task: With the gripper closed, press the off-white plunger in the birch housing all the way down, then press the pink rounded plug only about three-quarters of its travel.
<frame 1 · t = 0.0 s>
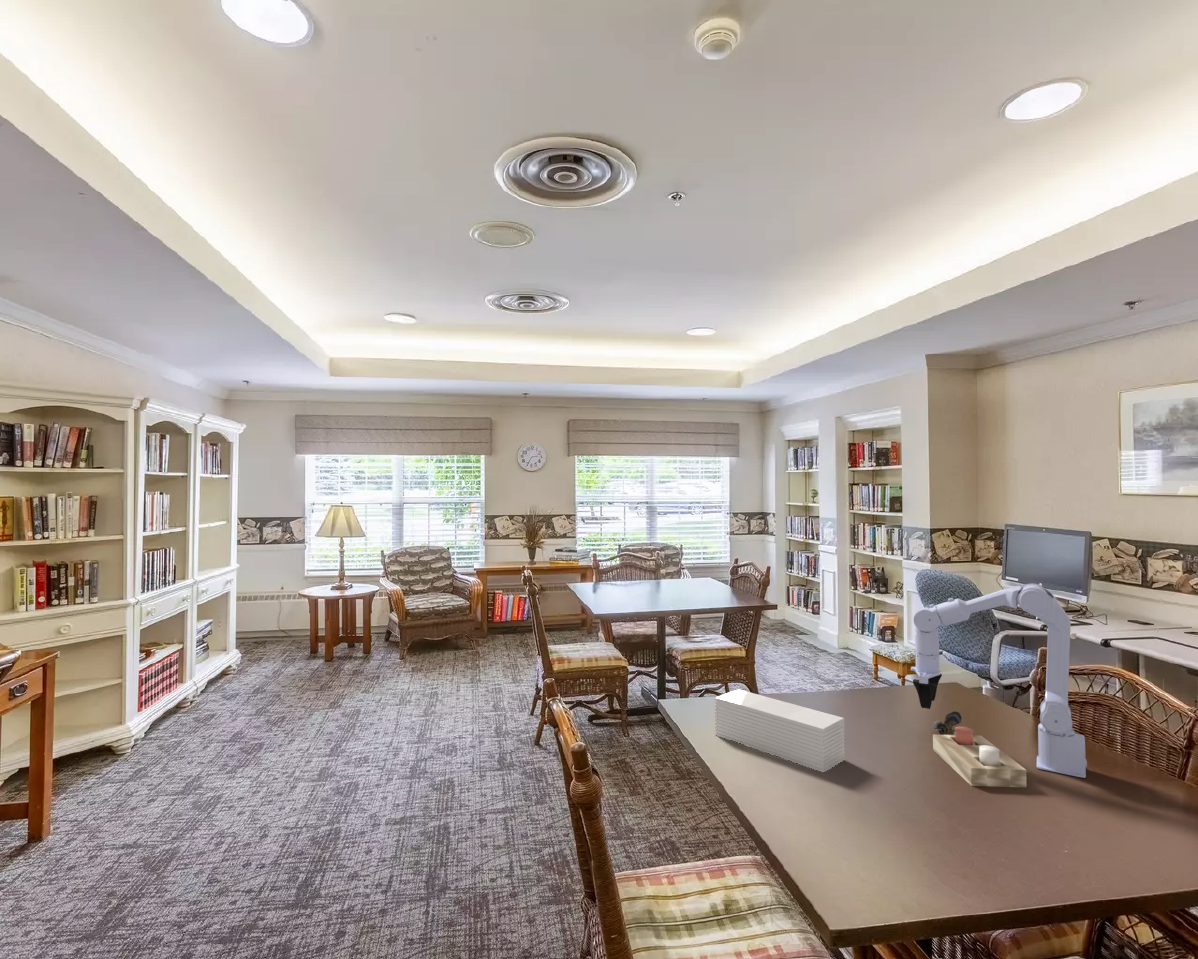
hand: (927, 703, 171), 10 cm above the table, tool pointing down, fingers open, 7 cm apart
pink rounded plug: (964, 738, 161), point 5 cm above the table, slide at 0.0 cm
eagle figurine: (948, 737, 174), on the table
ivory plunger: (989, 758, 149), point 5 cm above the table, slide at 0.0 cm
stack of papers: (776, 748, 168), on the table
press housing: (976, 767, 155), on the table
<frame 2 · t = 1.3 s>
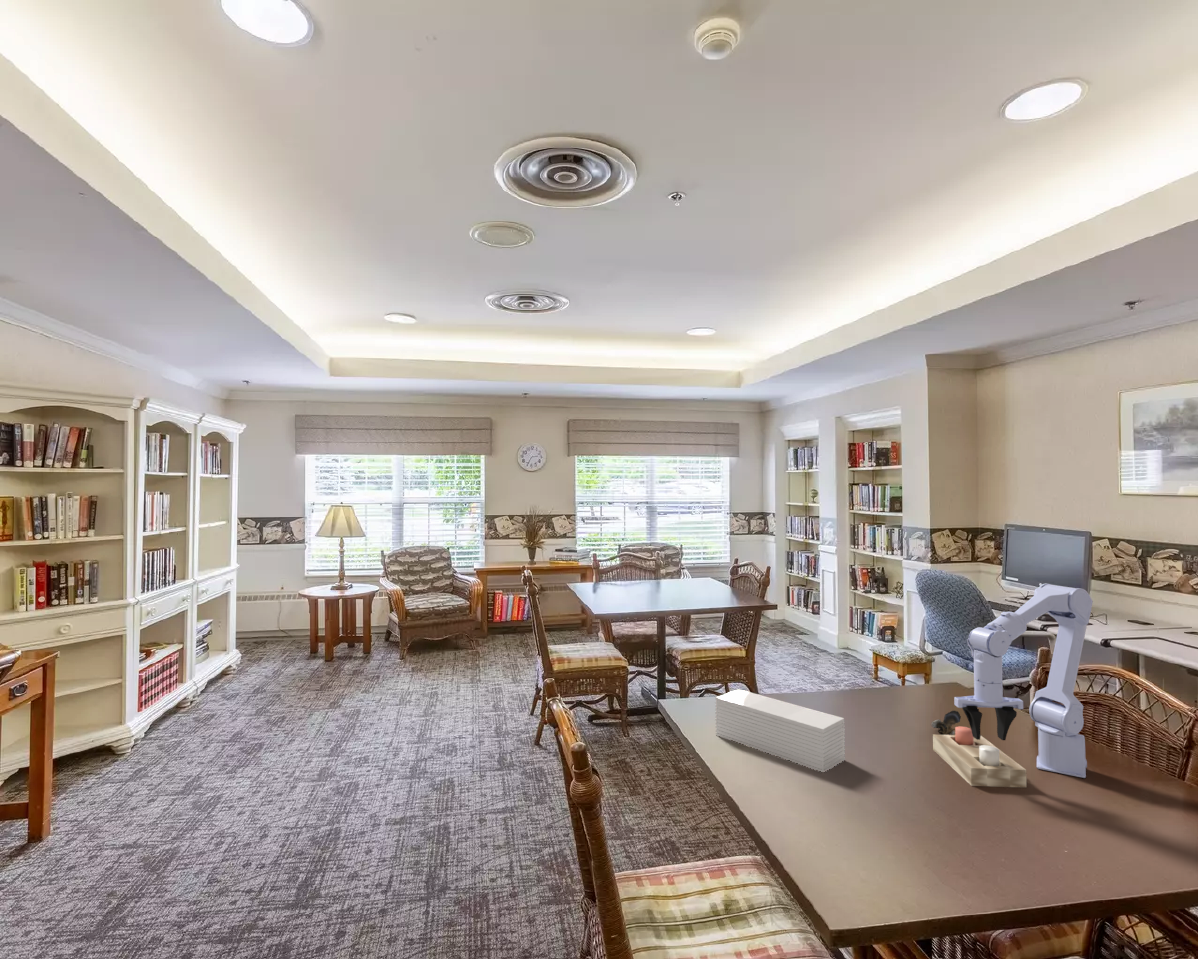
hand: (988, 738, 149), 9 cm above the table, tool pointing down, fingers open, 5 cm apart
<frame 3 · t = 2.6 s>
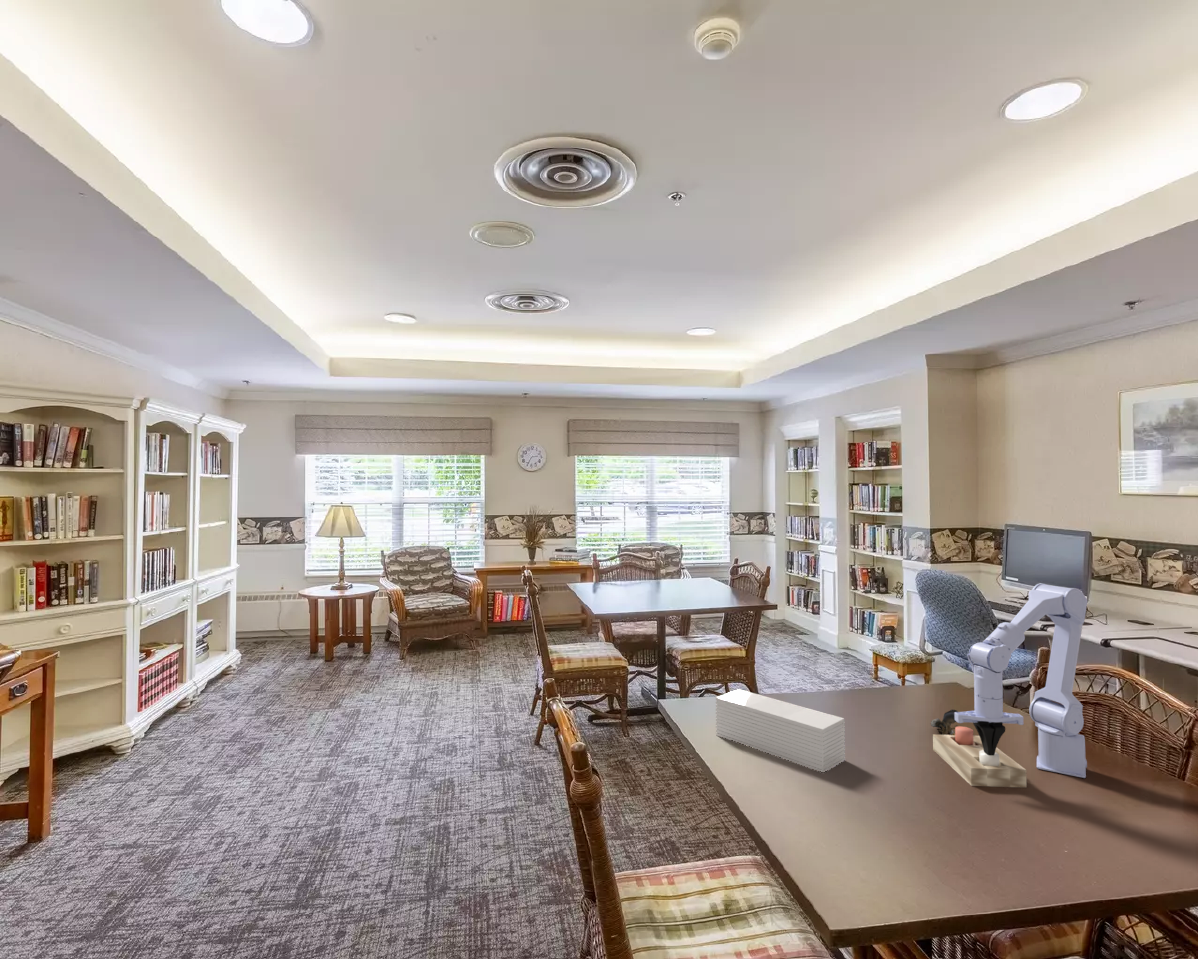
hand: (989, 753, 149), 6 cm above the table, tool pointing down, fingers closed, pressing on ivory plunger
ivory plunger: (989, 763, 149), point 4 cm above the table, slide at 1.2 cm, touching gripper
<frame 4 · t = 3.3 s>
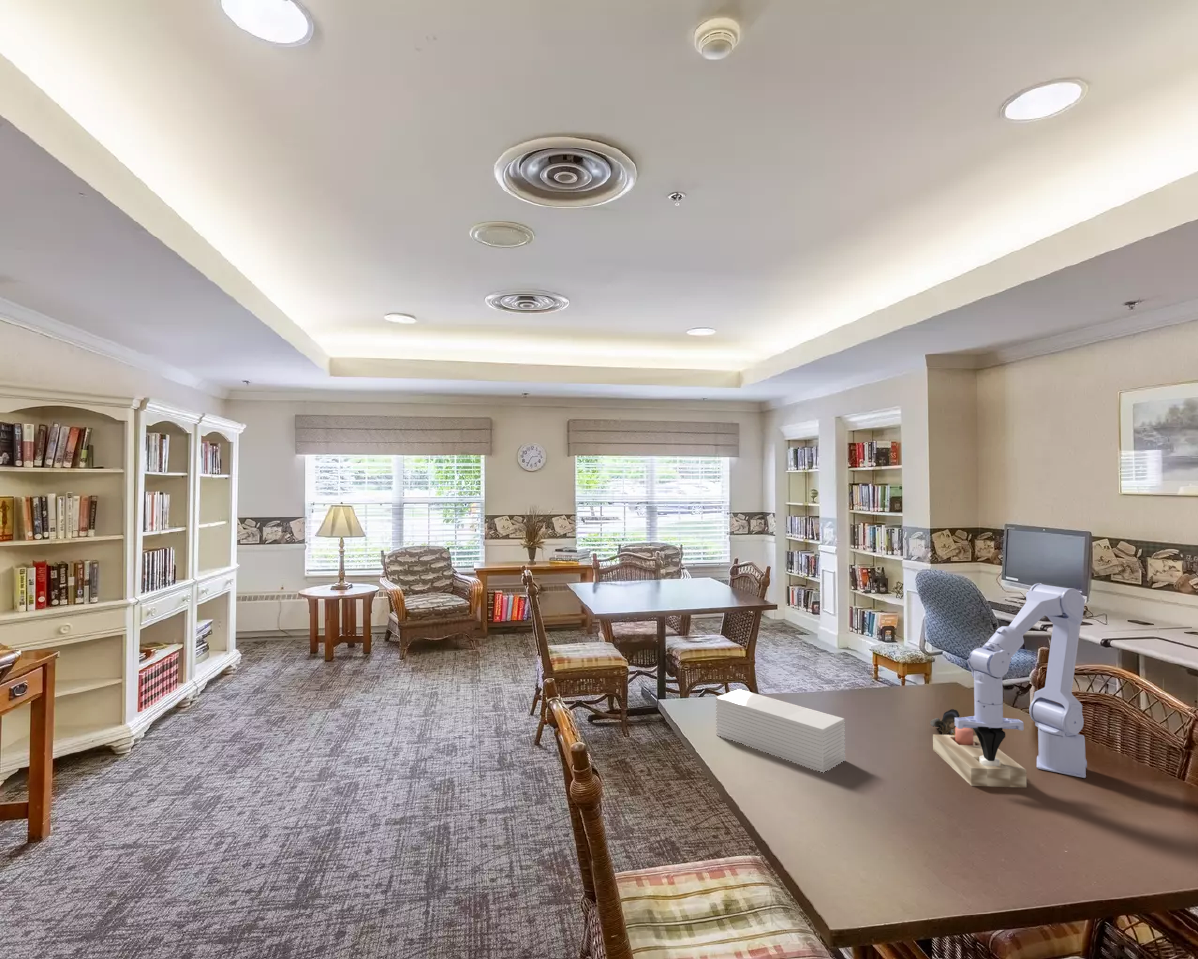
hand: (989, 759, 149), 5 cm above the table, tool pointing down, fingers closed, pressing on ivory plunger
ivory plunger: (989, 768, 149), point 2 cm above the table, slide at 2.4 cm, touching gripper
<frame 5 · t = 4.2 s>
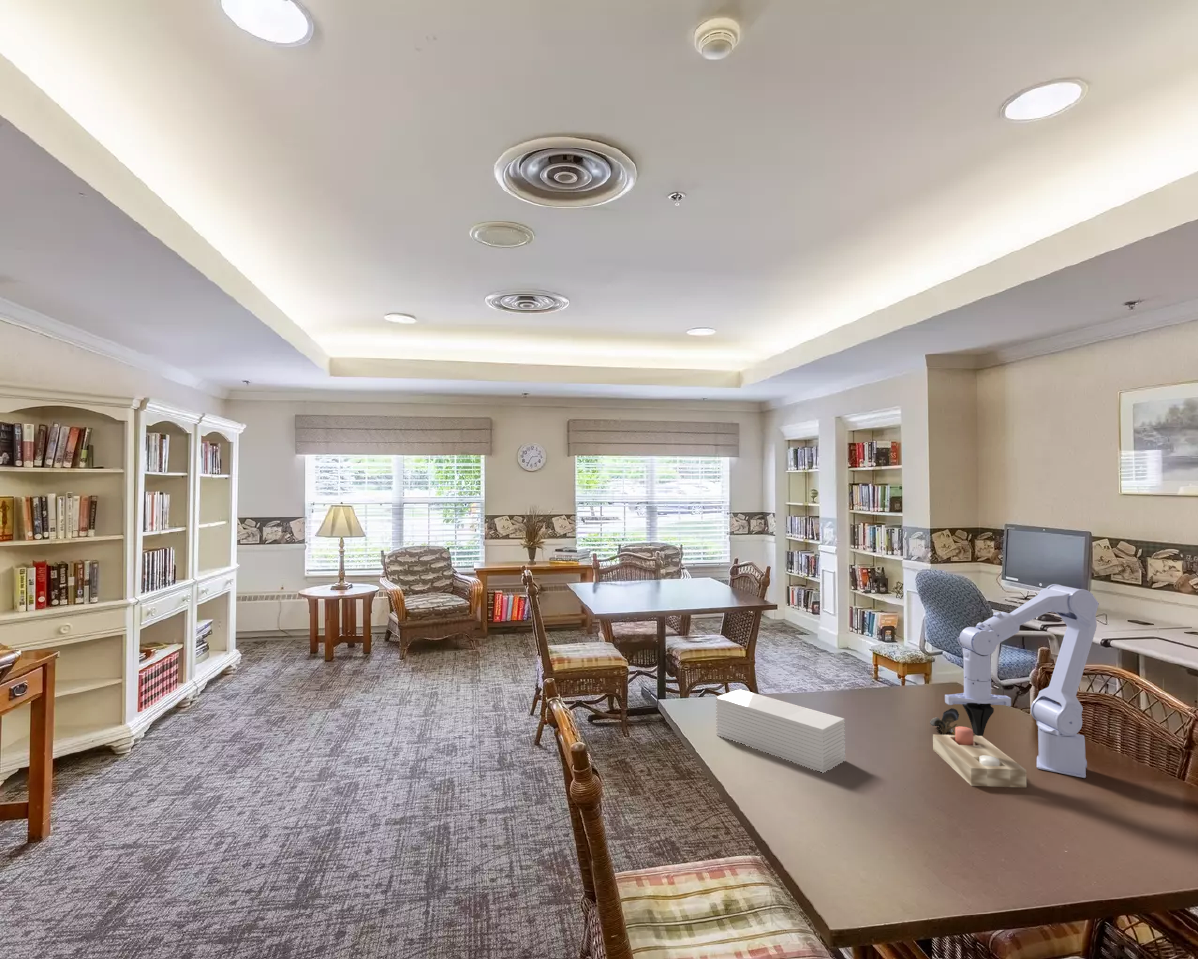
hand: (978, 734, 154), 8 cm above the table, tool pointing down, fingers closed
ivory plunger: (989, 768, 149), point 2 cm above the table, slide at 2.4 cm
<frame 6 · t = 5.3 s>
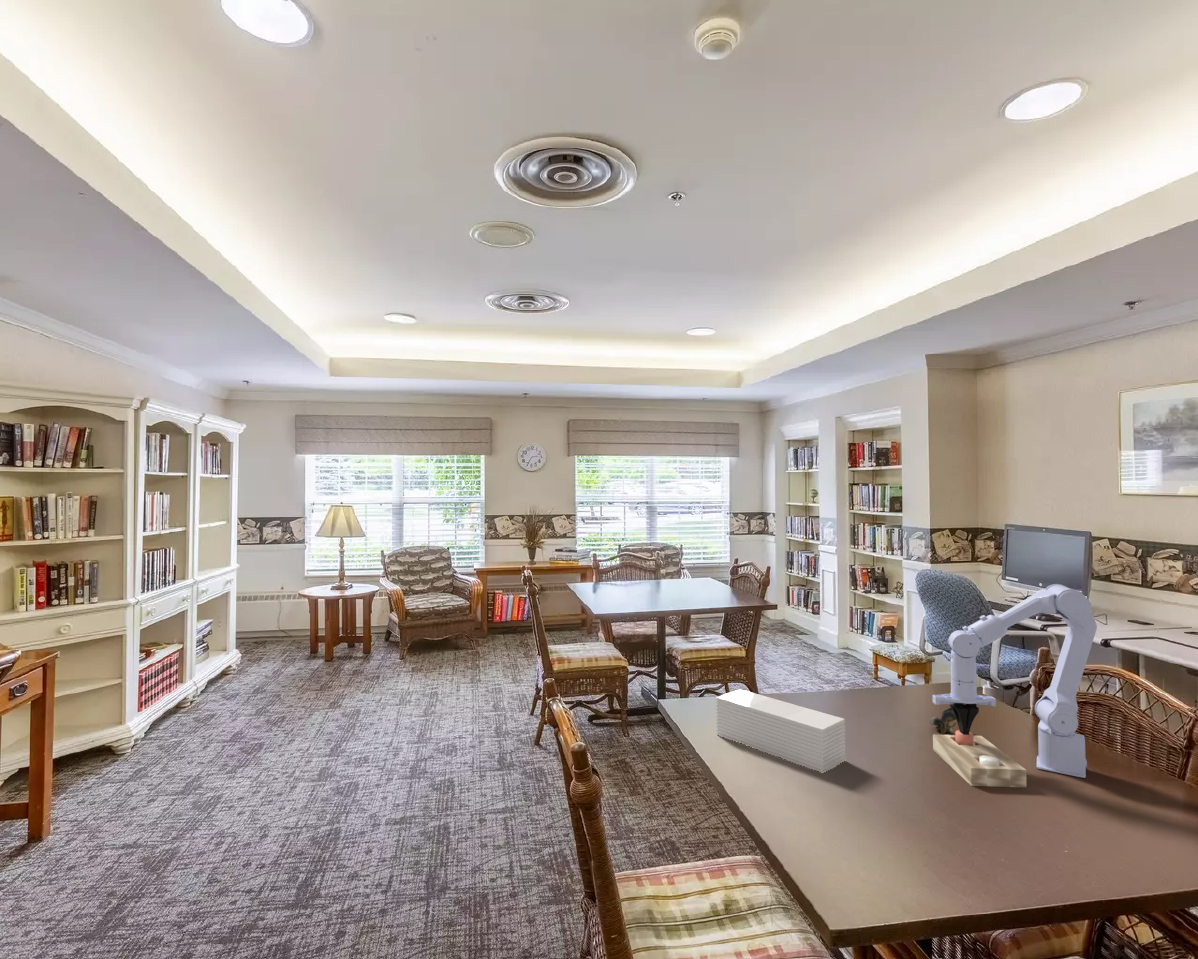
hand: (964, 733, 161), 6 cm above the table, tool pointing down, fingers closed, pressing on pink rounded plug
pink rounded plug: (964, 741, 161), point 4 cm above the table, slide at 1.0 cm, touching gripper
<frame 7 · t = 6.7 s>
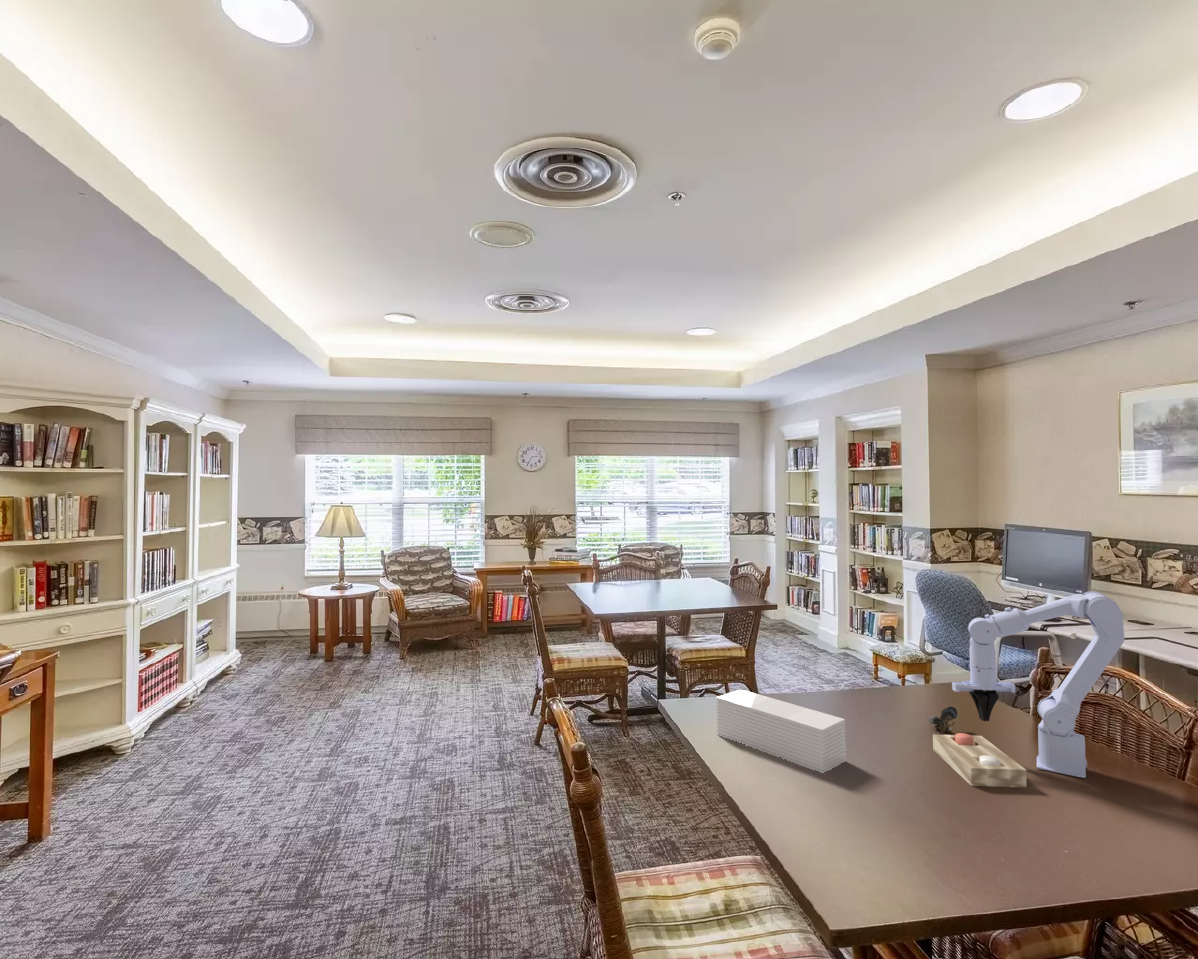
hand: (984, 719, 162), 9 cm above the table, tool pointing down, fingers closed
pink rounded plug: (964, 745, 161), point 3 cm above the table, slide at 1.7 cm
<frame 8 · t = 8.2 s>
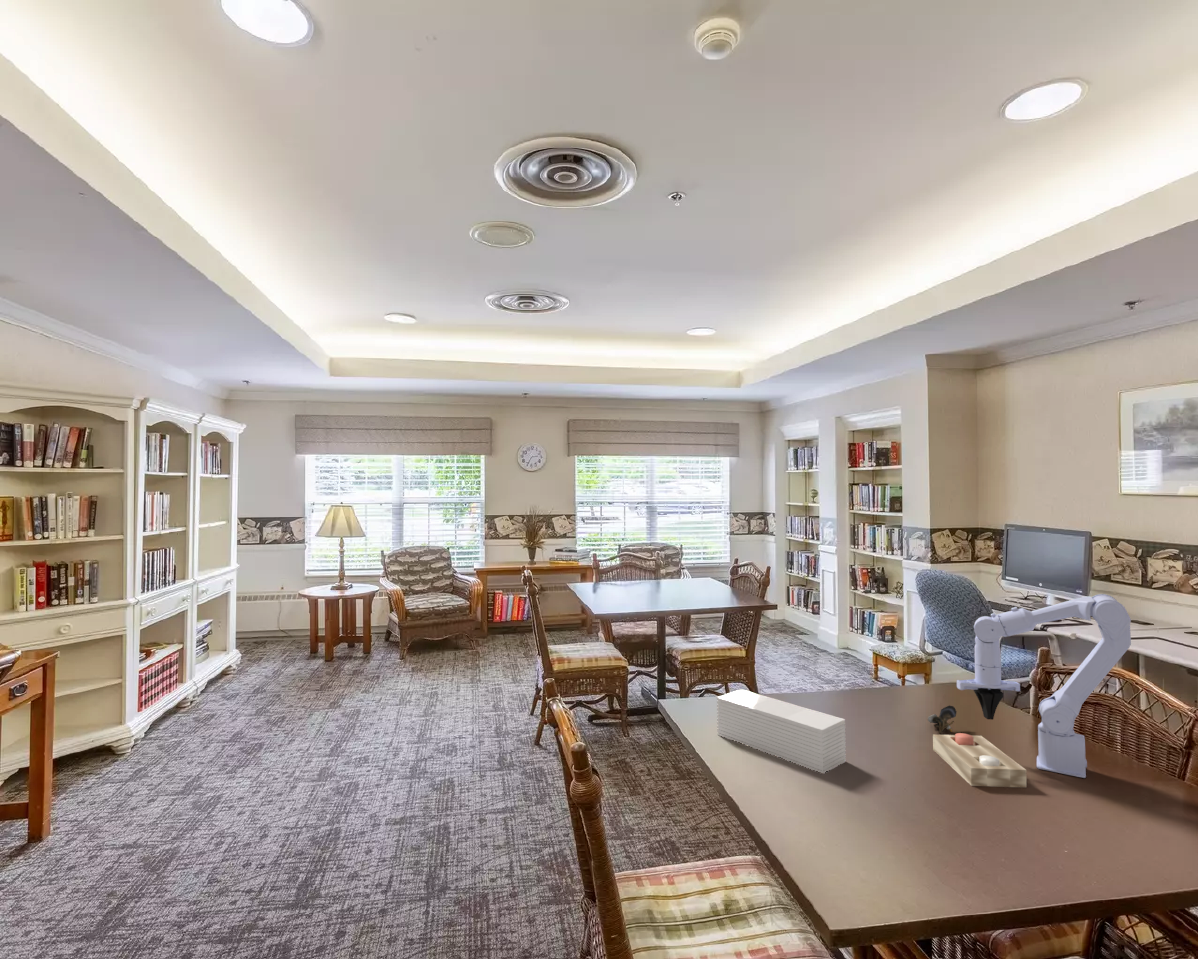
hand: (988, 718, 162), 9 cm above the table, tool pointing down, fingers closed
at the end: ivory plunger slide at 2.4 cm; pink rounded plug slide at 1.7 cm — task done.
